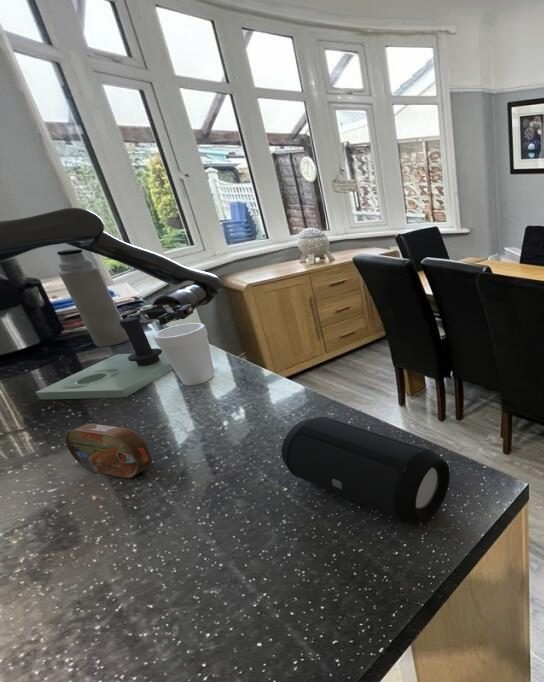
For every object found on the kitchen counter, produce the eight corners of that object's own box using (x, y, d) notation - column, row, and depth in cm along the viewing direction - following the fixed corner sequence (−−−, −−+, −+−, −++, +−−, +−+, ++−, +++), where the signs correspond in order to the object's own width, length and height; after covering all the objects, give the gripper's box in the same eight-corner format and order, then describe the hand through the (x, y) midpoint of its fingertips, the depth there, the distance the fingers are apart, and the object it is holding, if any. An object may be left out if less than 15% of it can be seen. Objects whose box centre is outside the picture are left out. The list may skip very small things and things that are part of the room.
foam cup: (167, 391, 91) (144, 340, 86) (185, 373, 99) (165, 325, 94) (214, 384, 93) (194, 334, 88) (227, 367, 102) (210, 320, 96)
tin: (77, 469, 67) (52, 429, 64) (99, 457, 70) (76, 417, 67) (143, 482, 64) (121, 440, 60) (163, 469, 67) (143, 428, 63)
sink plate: (39, 399, 89) (35, 392, 89) (119, 360, 108) (116, 354, 107) (125, 397, 89) (122, 389, 88) (191, 358, 108) (189, 351, 107)
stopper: (124, 368, 98) (103, 324, 94) (147, 357, 104) (128, 315, 100) (150, 367, 98) (130, 323, 94) (171, 356, 104) (153, 314, 100)
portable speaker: (285, 487, 62) (267, 435, 58) (335, 449, 70) (323, 401, 66) (415, 545, 52) (404, 487, 47) (456, 493, 60) (450, 439, 56)
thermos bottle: (97, 341, 121) (51, 250, 110) (131, 334, 126) (90, 246, 115) (93, 349, 116) (45, 254, 104) (129, 341, 120) (86, 249, 109)
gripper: (144, 293, 112) (102, 312, 98) (199, 289, 115) (167, 306, 100) (154, 318, 115) (116, 339, 101) (208, 313, 118) (178, 333, 103)
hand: (141, 323), depth 100 cm, fingers open, 8 cm apart
